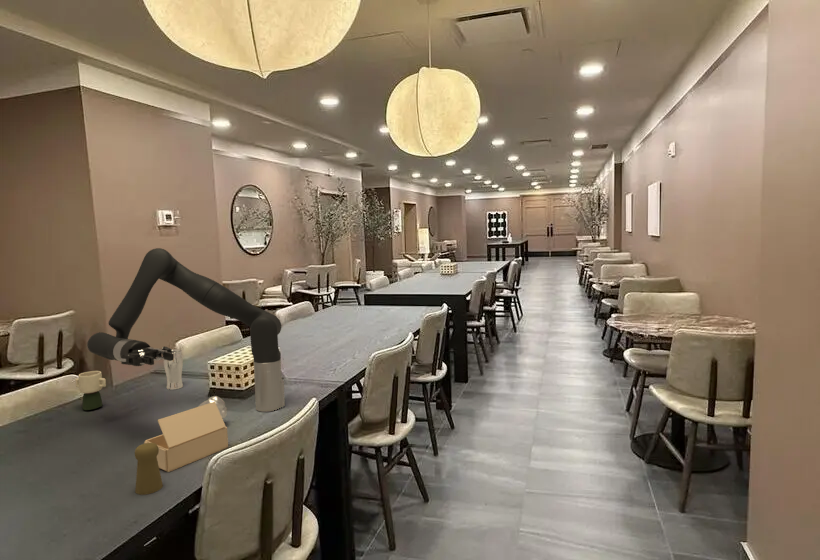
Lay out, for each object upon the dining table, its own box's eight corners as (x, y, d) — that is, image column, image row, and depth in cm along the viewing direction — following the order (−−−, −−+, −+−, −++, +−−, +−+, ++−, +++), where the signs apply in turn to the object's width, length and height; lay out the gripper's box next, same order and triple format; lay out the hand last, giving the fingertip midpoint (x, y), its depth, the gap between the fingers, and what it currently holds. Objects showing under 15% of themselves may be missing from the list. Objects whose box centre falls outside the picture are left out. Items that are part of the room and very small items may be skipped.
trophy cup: (113, 405, 185) (111, 370, 184) (101, 412, 178) (98, 376, 176) (84, 405, 185) (81, 370, 184) (70, 412, 178) (68, 376, 177)
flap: (225, 426, 145) (214, 401, 147) (225, 426, 145) (214, 401, 147) (168, 448, 131) (157, 420, 133) (169, 447, 131) (157, 419, 133)
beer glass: (188, 385, 208) (185, 349, 206) (175, 390, 201) (172, 353, 200) (174, 384, 210) (172, 348, 208) (161, 389, 203) (159, 352, 202)
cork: (141, 483, 126) (138, 440, 125) (166, 481, 126) (164, 439, 125) (130, 495, 120) (127, 450, 119) (156, 493, 120) (154, 449, 119)
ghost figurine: (214, 433, 156) (212, 402, 155) (190, 430, 160) (188, 399, 159) (233, 423, 165) (232, 393, 164) (210, 420, 168) (209, 390, 167)
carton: (205, 438, 153) (204, 419, 152) (229, 447, 146) (228, 427, 146) (143, 462, 137) (142, 440, 137) (167, 472, 131) (165, 450, 130)
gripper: (106, 344, 148) (136, 351, 139) (154, 335, 160) (185, 341, 151) (108, 369, 149) (138, 378, 140) (155, 359, 161) (186, 366, 151)
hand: (162, 359), depth 145 cm, fingers open, 5 cm apart
